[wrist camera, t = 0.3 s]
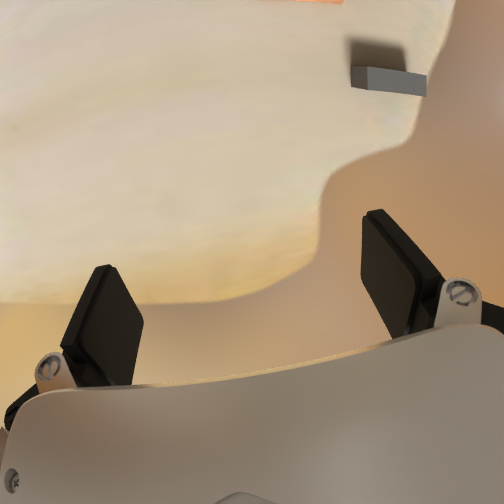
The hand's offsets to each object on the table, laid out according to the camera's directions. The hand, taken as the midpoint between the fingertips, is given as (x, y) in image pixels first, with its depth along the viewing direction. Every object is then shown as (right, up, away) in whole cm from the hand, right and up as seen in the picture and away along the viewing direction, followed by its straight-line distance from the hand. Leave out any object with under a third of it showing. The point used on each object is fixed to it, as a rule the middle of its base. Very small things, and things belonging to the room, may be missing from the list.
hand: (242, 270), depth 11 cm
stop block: (+18, +24, +22) cm, 38 cm away
